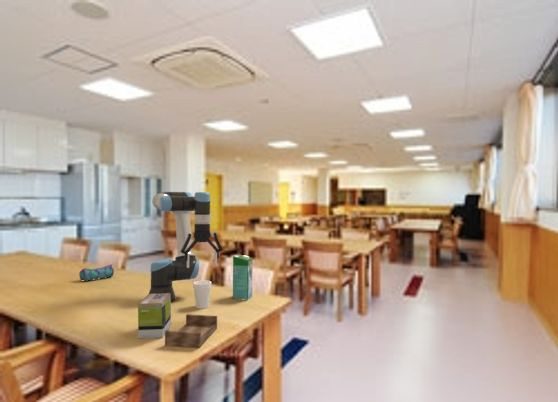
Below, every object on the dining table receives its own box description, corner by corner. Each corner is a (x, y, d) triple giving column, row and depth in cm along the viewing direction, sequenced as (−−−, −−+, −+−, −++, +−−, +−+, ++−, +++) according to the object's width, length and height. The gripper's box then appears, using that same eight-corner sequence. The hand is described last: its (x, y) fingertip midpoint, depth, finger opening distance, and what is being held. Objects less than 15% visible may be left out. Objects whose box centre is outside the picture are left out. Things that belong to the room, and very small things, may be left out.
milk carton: (247, 300, 189) (248, 256, 189) (232, 299, 191) (233, 256, 191) (252, 296, 198) (252, 254, 198) (237, 295, 200) (238, 253, 200)
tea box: (148, 325, 150) (148, 292, 150) (171, 325, 151) (171, 292, 151) (137, 339, 135) (137, 302, 135) (162, 338, 136) (162, 302, 136)
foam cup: (214, 305, 180) (214, 281, 180) (205, 310, 171) (205, 285, 171) (199, 303, 183) (199, 279, 183) (189, 308, 174) (189, 283, 175)
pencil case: (84, 283, 229) (84, 269, 229) (78, 281, 235) (79, 267, 235) (114, 277, 246) (114, 264, 246) (108, 276, 251) (108, 263, 251)
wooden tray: (165, 345, 129) (165, 331, 129) (187, 326, 149) (187, 314, 149) (199, 348, 126) (199, 333, 127) (217, 328, 147) (217, 315, 147)
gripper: (177, 224, 155) (177, 269, 155) (228, 223, 166) (228, 265, 165) (174, 223, 162) (174, 267, 162) (224, 222, 173) (224, 263, 172)
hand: (202, 266), depth 164 cm, fingers open, 13 cm apart
